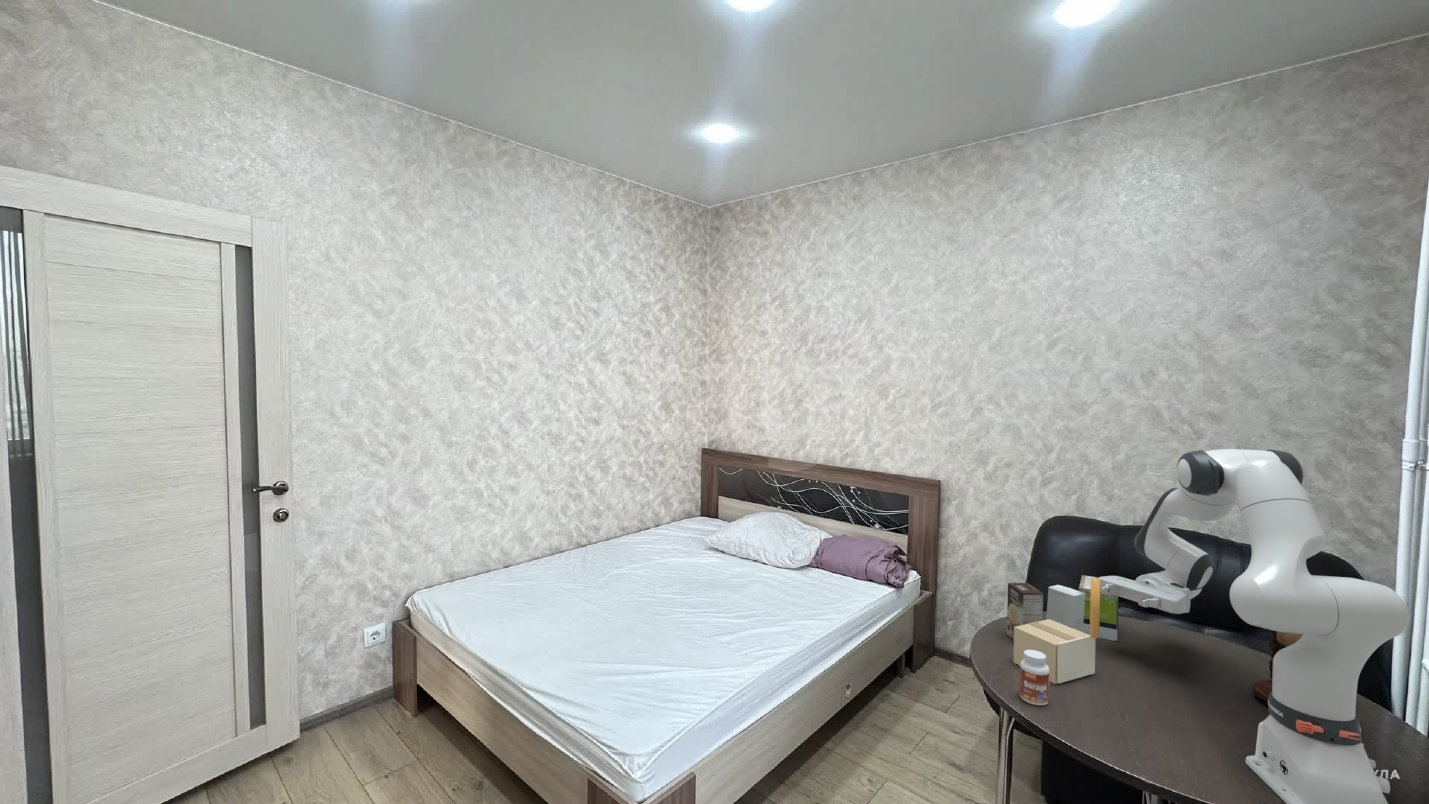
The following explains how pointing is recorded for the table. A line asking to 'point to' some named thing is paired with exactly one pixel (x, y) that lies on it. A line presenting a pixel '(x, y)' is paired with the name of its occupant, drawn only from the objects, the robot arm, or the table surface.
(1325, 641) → the robot arm
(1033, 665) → the pill bottle
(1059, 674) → the cleaver with orange handle
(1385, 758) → the table surface
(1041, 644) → the carton
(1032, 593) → the coffee box
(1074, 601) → the skincare box
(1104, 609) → the tea box
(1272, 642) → the scroll
